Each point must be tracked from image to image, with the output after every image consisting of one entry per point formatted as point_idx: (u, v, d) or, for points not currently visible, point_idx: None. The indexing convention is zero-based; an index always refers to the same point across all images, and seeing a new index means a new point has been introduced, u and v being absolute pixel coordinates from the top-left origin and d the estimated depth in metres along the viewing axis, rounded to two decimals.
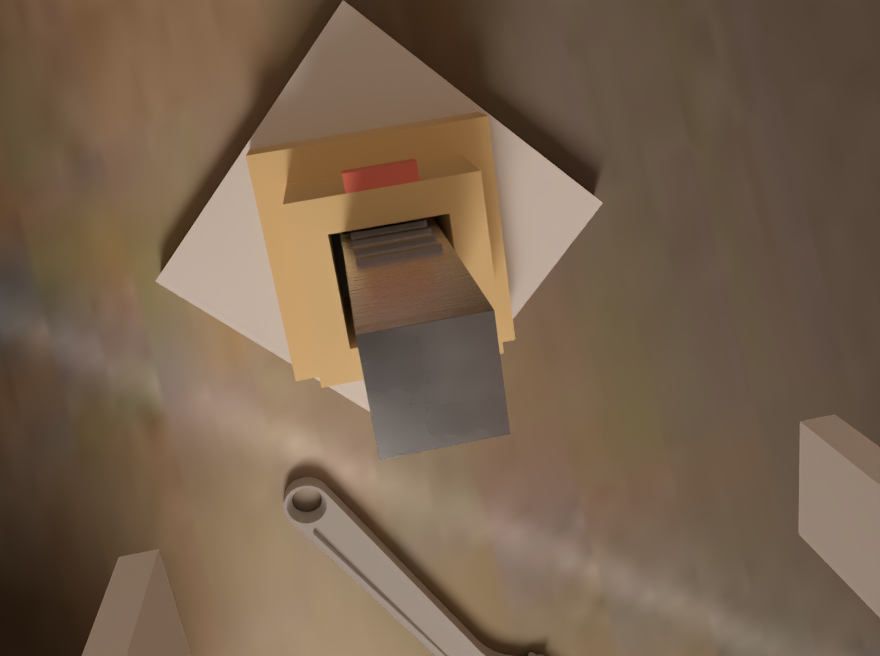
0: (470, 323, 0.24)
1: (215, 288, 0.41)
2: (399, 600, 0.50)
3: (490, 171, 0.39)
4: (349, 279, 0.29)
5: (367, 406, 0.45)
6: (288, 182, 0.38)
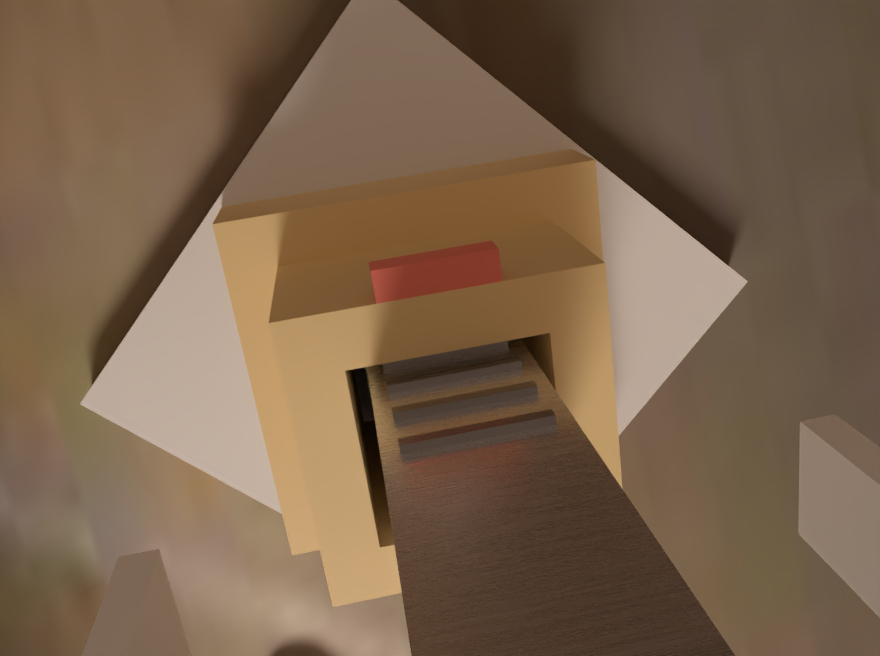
0: None
1: (172, 412, 0.27)
2: None
3: (595, 244, 0.25)
4: (391, 500, 0.15)
5: None
6: (280, 264, 0.24)
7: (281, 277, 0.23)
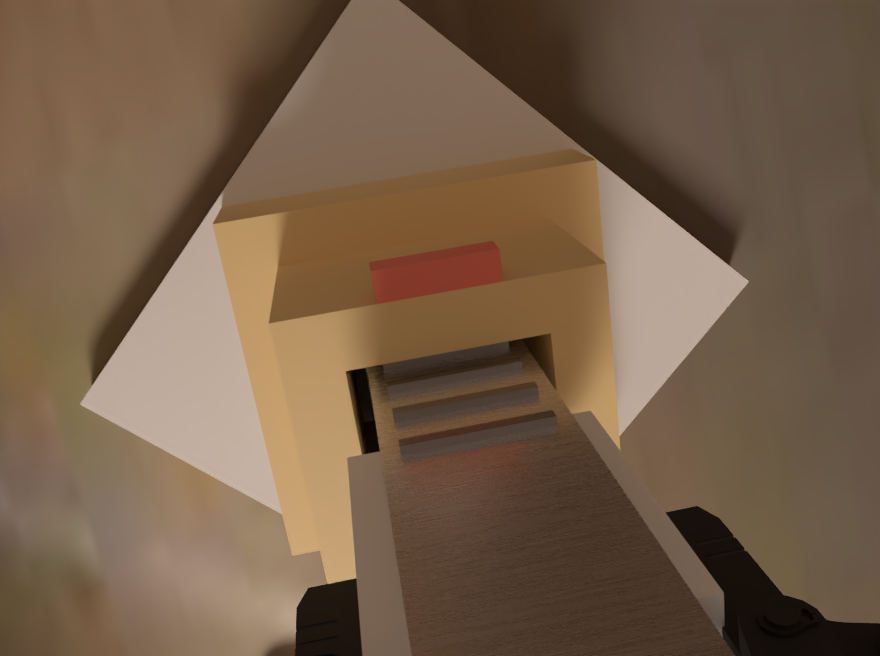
0: None
1: (172, 412, 0.27)
2: None
3: (596, 244, 0.25)
4: (391, 501, 0.15)
5: None
6: (280, 264, 0.24)
7: (281, 277, 0.23)
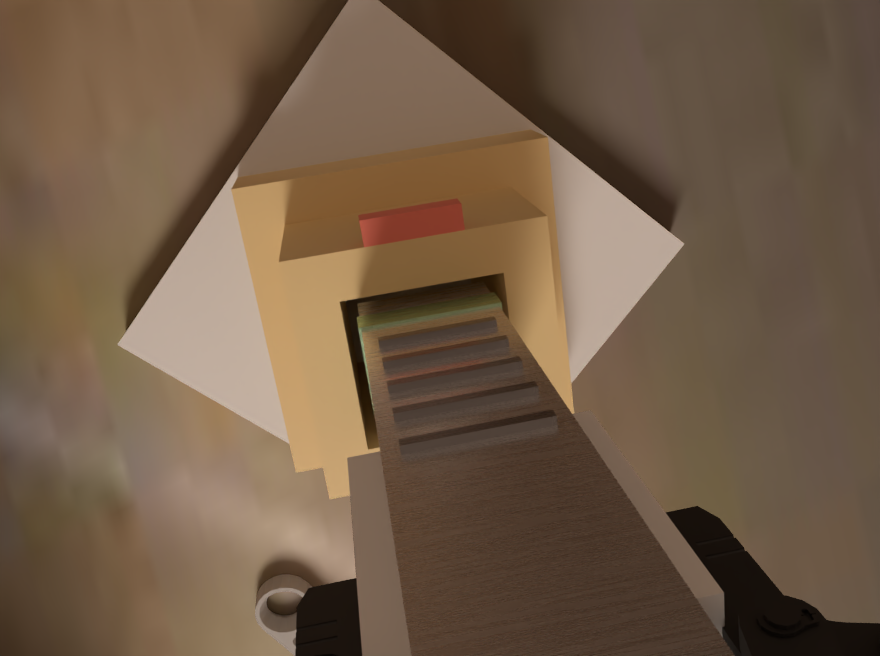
0: None
1: (194, 352, 0.32)
2: None
3: (549, 208, 0.30)
4: (391, 501, 0.15)
5: None
6: (287, 223, 0.29)
7: (288, 232, 0.28)
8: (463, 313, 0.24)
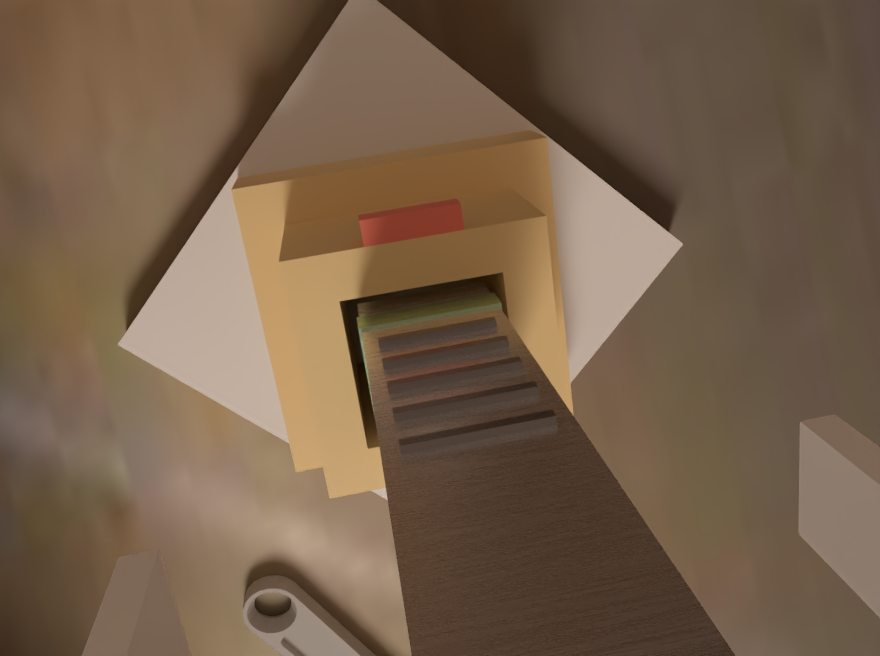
0: None
1: (194, 352, 0.33)
2: None
3: (548, 208, 0.30)
4: (391, 501, 0.15)
5: (385, 494, 0.36)
6: (287, 223, 0.29)
7: (288, 232, 0.28)
8: (462, 314, 0.24)
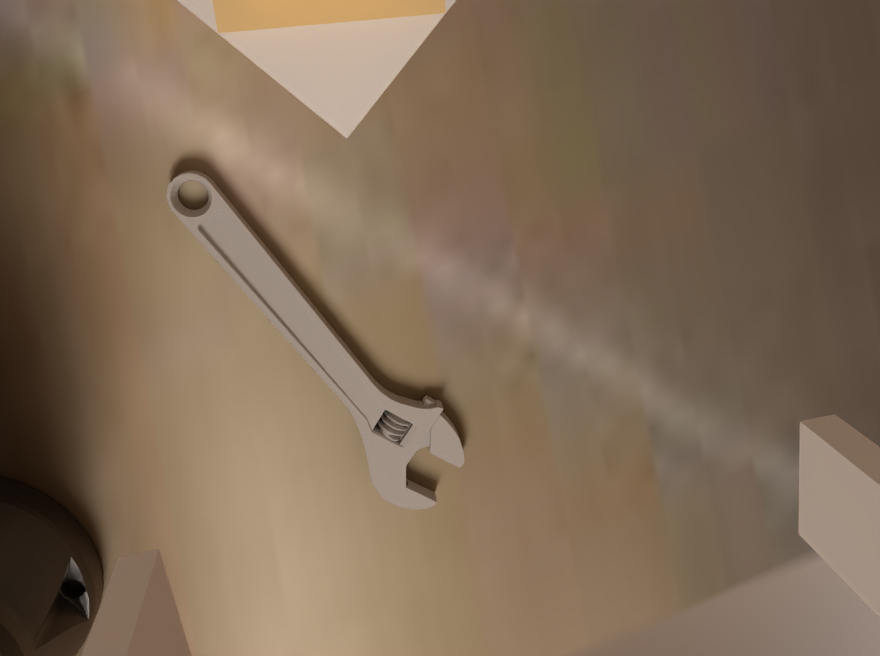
0: None
1: None
2: (288, 317, 0.48)
3: None
4: None
5: (295, 92, 0.44)
6: None
7: None
8: None
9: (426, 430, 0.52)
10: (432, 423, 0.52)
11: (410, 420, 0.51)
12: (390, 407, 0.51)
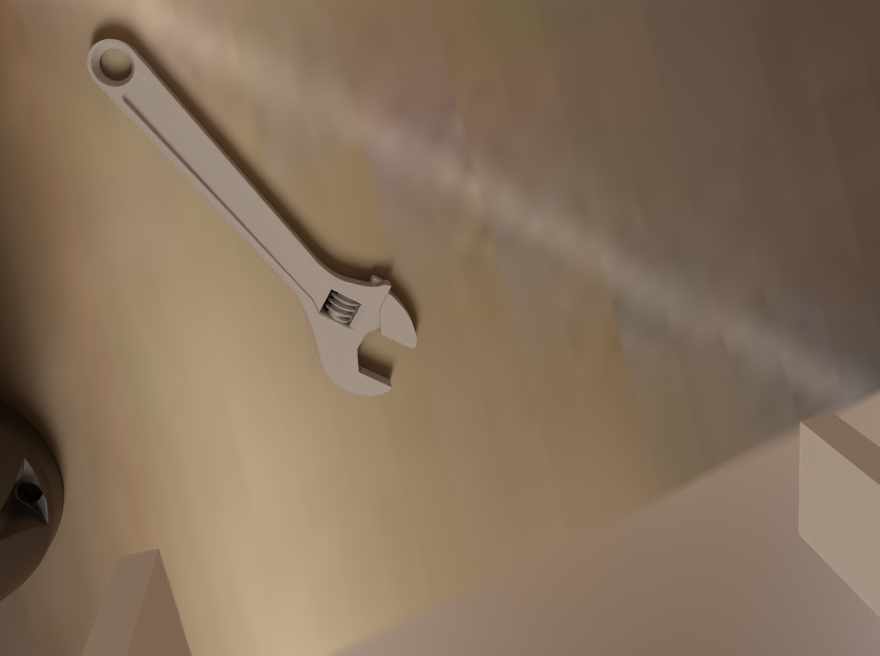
0: None
1: None
2: (223, 192, 0.47)
3: None
4: None
5: None
6: None
7: None
8: None
9: (375, 310, 0.50)
10: (381, 303, 0.50)
11: (358, 299, 0.50)
12: (336, 286, 0.49)
